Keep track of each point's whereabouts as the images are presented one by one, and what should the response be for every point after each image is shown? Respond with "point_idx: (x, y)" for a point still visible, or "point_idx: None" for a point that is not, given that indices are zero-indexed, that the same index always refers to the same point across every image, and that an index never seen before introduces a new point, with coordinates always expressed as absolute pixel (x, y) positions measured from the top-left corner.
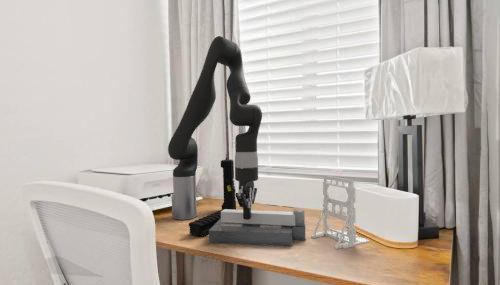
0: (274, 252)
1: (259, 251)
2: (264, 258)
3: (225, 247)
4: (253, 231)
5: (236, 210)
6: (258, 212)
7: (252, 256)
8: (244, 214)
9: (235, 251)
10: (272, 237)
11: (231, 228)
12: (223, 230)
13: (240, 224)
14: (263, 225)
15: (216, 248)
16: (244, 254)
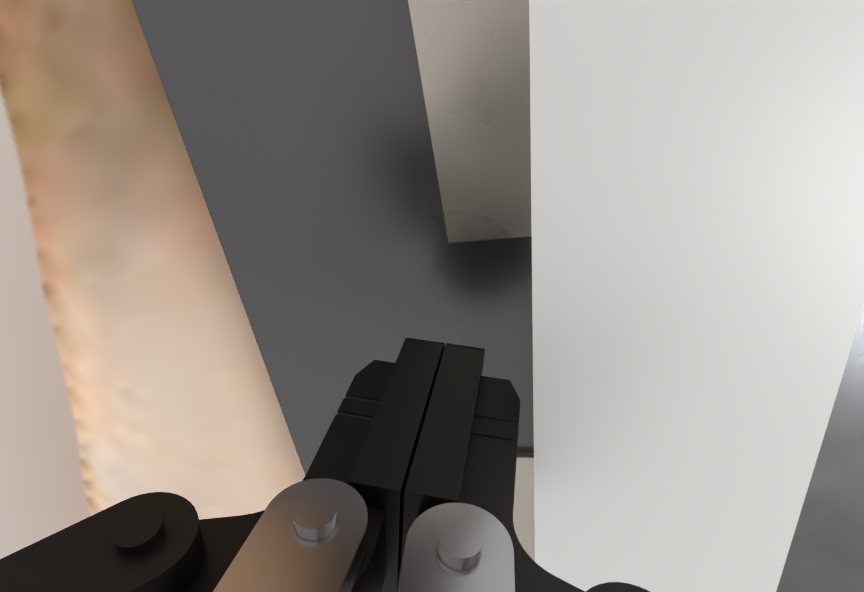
0: (251, 479)
1: (222, 395)
2: (134, 436)
3: (163, 98)
4: (298, 411)
5: (791, 119)
6: (606, 579)
7: (120, 367)
8: (345, 416)
9: (131, 228)
10: None
11: (302, 121)
12: (165, 32)
13: (516, 205)
14: (529, 487)
15: (93, 9)
16: (119, 310)
